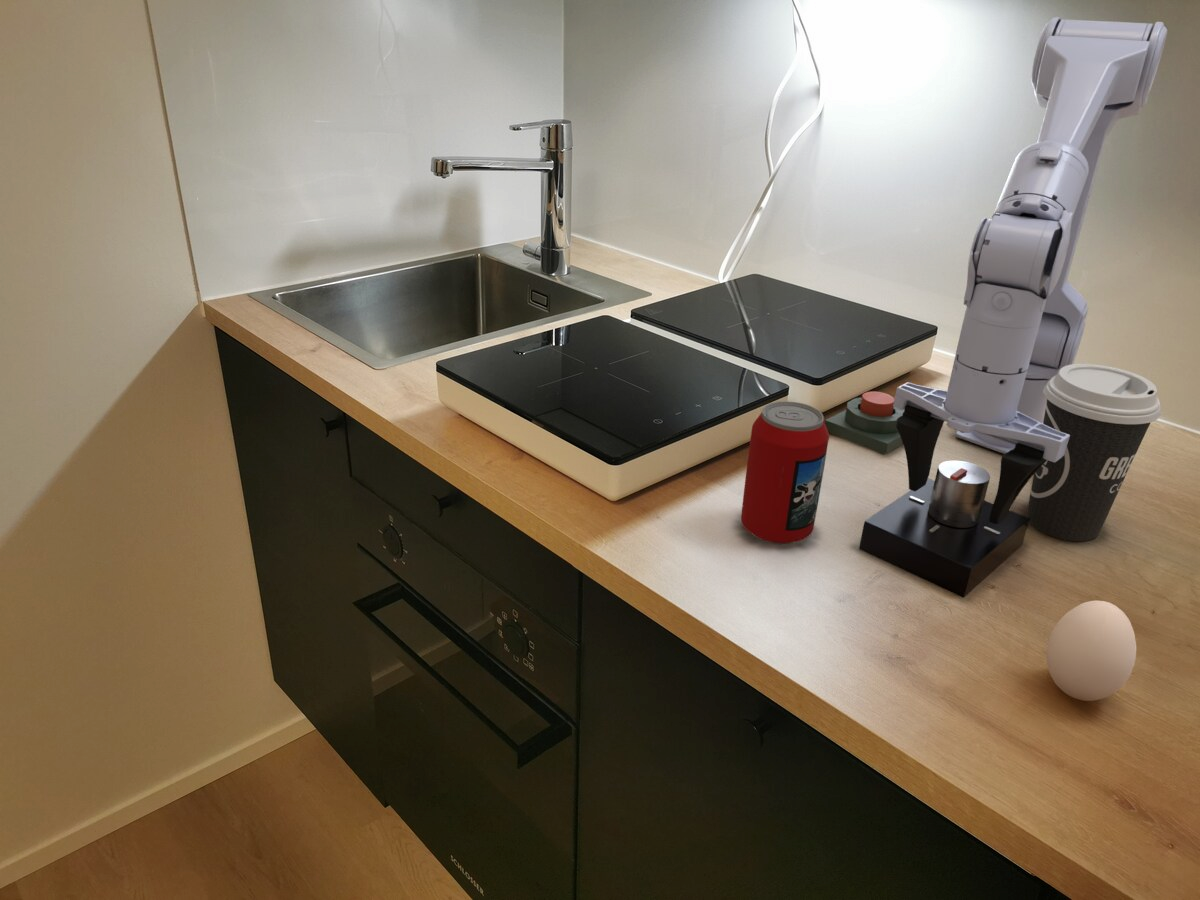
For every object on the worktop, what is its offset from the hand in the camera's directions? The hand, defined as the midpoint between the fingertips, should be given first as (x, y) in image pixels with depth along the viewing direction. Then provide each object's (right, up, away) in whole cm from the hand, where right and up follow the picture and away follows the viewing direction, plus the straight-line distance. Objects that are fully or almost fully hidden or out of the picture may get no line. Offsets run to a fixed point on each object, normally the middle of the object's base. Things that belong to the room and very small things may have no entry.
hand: (956, 502), depth 82 cm
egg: (+3, -13, -15) cm, 21 cm away
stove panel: (-1, -4, +1) cm, 5 cm away
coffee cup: (+13, -2, +6) cm, 14 cm away
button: (-1, +9, +22) cm, 23 cm away
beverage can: (-16, -3, +3) cm, 16 cm away
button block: (0, +7, +23) cm, 24 cm away
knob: (0, -1, +1) cm, 1 cm away
